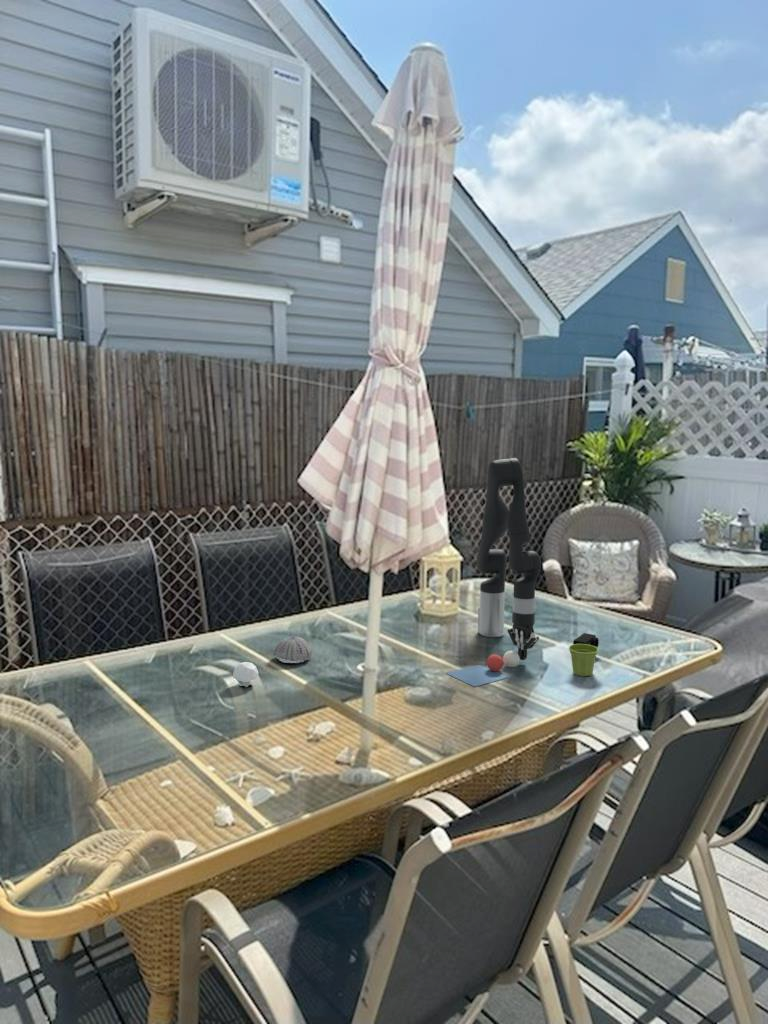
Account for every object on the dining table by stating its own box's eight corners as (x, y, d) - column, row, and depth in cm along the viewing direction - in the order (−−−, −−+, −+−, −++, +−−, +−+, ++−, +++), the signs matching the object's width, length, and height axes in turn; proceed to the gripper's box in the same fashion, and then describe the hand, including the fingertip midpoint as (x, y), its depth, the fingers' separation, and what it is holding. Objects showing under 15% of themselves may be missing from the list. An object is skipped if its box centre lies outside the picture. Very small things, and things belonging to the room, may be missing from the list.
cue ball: (513, 654, 245) (505, 667, 243) (505, 645, 242) (497, 658, 240) (525, 658, 241) (517, 672, 239) (517, 649, 238) (509, 662, 236)
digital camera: (587, 662, 245) (588, 643, 244) (572, 659, 248) (573, 640, 247) (598, 654, 253) (599, 635, 252) (583, 651, 256) (584, 632, 255)
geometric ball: (250, 696, 223) (252, 682, 218) (227, 685, 224) (228, 671, 219) (261, 677, 229) (263, 663, 223) (239, 667, 230) (241, 653, 224)
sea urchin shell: (315, 654, 254) (315, 632, 253) (308, 667, 241) (307, 644, 240) (279, 652, 256) (278, 631, 254) (269, 666, 242) (268, 643, 241)
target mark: (446, 673, 235) (446, 673, 235) (478, 665, 242) (478, 664, 242) (474, 687, 223) (474, 686, 223) (507, 677, 231) (507, 677, 231)
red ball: (483, 670, 238) (483, 654, 237) (495, 666, 241) (495, 651, 240) (494, 675, 233) (494, 658, 233) (506, 671, 236) (507, 655, 236)
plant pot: (564, 675, 233) (565, 650, 231) (571, 666, 241) (572, 642, 240) (594, 680, 228) (595, 654, 227) (600, 671, 237) (601, 646, 235)
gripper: (501, 607, 244) (500, 656, 247) (530, 616, 234) (528, 667, 236) (517, 603, 249) (516, 652, 251) (546, 612, 238) (544, 662, 240)
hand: (522, 659), depth 244 cm, fingers closed
